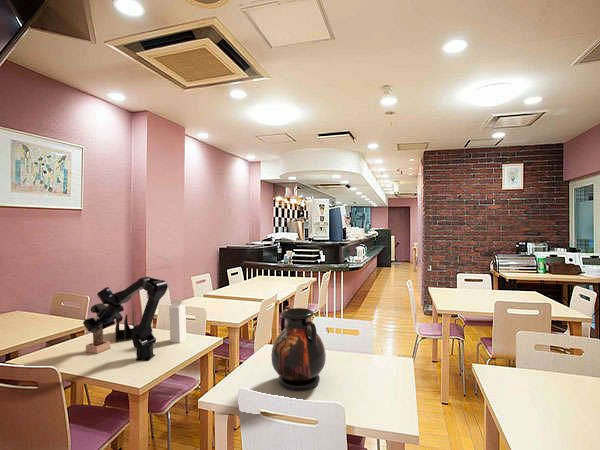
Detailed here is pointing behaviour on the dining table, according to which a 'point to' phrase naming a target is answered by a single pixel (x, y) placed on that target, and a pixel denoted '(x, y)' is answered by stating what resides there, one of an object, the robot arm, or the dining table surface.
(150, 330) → the robot arm
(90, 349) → the pink open box
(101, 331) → the brown tall cylinder
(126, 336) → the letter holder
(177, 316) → the milk
